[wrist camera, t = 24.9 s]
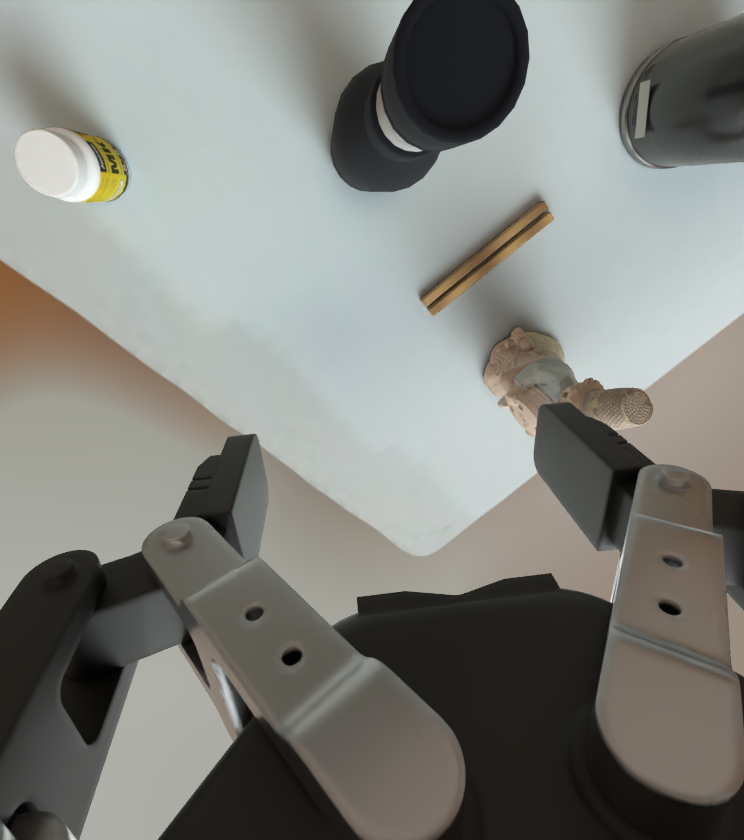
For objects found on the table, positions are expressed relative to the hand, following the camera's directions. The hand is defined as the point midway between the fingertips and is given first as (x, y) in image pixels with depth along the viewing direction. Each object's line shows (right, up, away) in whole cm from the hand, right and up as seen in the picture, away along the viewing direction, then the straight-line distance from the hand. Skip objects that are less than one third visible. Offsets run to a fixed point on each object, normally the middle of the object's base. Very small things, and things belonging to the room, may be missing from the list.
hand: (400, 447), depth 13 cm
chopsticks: (+10, +16, +31) cm, 37 cm away
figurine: (+15, +7, +37) cm, 40 cm away
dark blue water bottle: (-1, +24, +26) cm, 36 cm away
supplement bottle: (-23, +22, +25) cm, 41 cm away
